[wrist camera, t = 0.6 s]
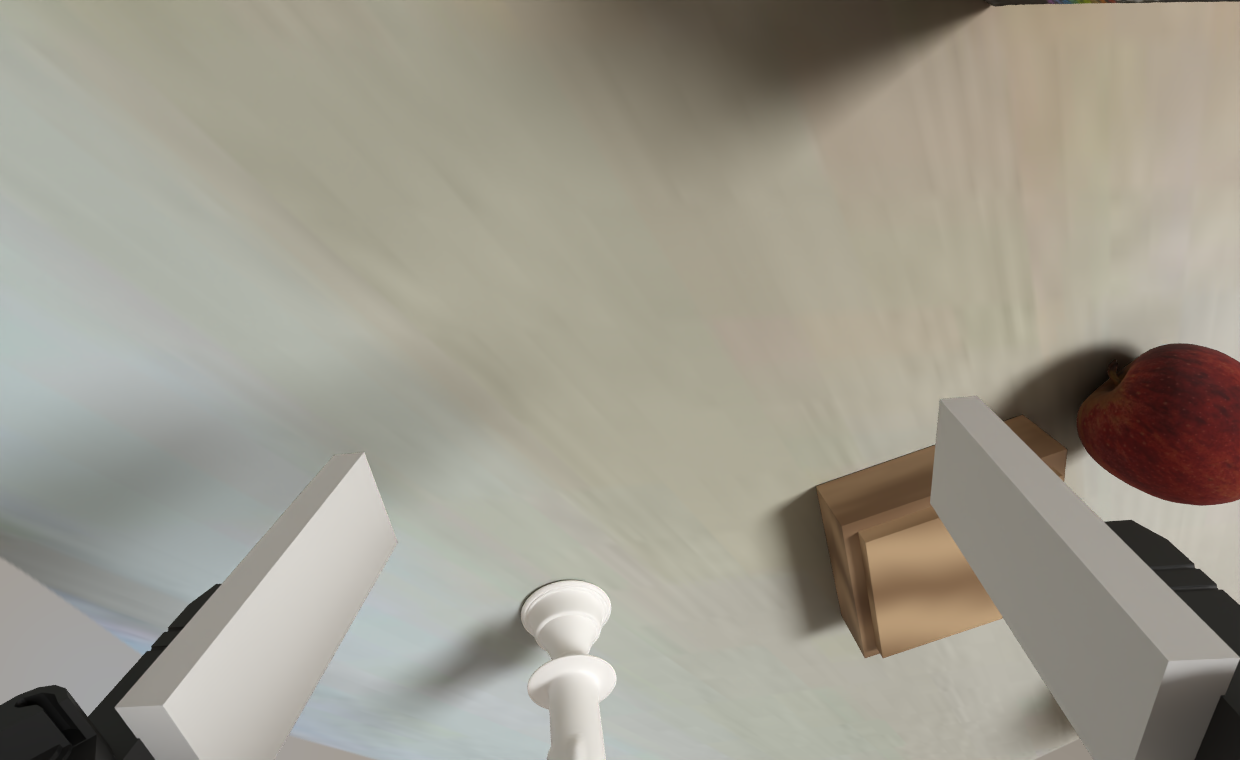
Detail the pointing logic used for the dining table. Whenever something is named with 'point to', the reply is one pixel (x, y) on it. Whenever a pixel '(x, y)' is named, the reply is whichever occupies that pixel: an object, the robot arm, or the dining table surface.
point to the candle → (570, 665)
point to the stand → (907, 552)
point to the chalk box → (1085, 1)
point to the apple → (1169, 424)
